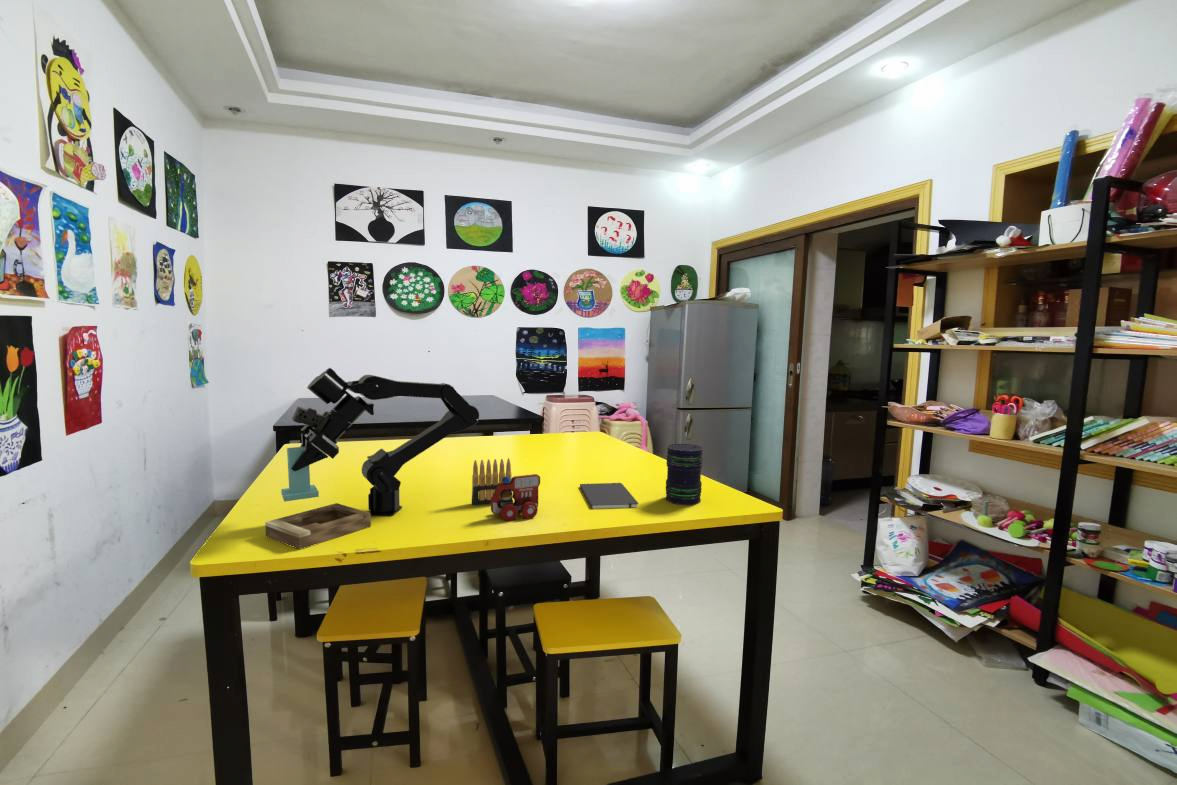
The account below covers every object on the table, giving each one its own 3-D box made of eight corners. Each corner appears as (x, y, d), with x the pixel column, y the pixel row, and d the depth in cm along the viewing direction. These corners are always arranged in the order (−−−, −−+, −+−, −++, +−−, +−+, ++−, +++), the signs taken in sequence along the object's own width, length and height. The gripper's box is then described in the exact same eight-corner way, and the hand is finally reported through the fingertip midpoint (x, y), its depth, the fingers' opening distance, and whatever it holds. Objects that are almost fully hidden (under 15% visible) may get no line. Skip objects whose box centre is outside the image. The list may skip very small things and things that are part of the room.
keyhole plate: (336, 516, 136) (336, 503, 135) (370, 526, 129) (370, 512, 128) (265, 536, 121) (265, 522, 121) (299, 549, 114) (299, 534, 114)
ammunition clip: (472, 505, 146) (472, 460, 145) (471, 503, 148) (471, 459, 147) (512, 502, 150) (512, 458, 148) (511, 500, 151) (511, 457, 150)
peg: (314, 489, 134) (312, 444, 132) (318, 496, 128) (316, 449, 127) (281, 493, 130) (279, 447, 129) (284, 501, 124) (281, 453, 123)
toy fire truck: (487, 514, 139) (487, 473, 138) (534, 509, 144) (535, 470, 143) (494, 523, 133) (494, 480, 132) (543, 517, 138) (543, 476, 137)
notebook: (579, 488, 166) (591, 510, 145) (579, 483, 166) (591, 505, 145) (621, 487, 168) (638, 509, 147) (621, 482, 168) (639, 503, 147)
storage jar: (668, 505, 150) (670, 450, 148) (662, 494, 160) (664, 443, 158) (705, 505, 150) (707, 451, 149) (696, 495, 160) (698, 444, 158)
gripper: (309, 390, 136) (259, 439, 131) (320, 398, 121) (264, 454, 116) (344, 419, 141) (298, 467, 136) (360, 431, 126) (308, 485, 121)
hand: (291, 468), depth 127 cm, fingers closed on peg, 4 cm apart
